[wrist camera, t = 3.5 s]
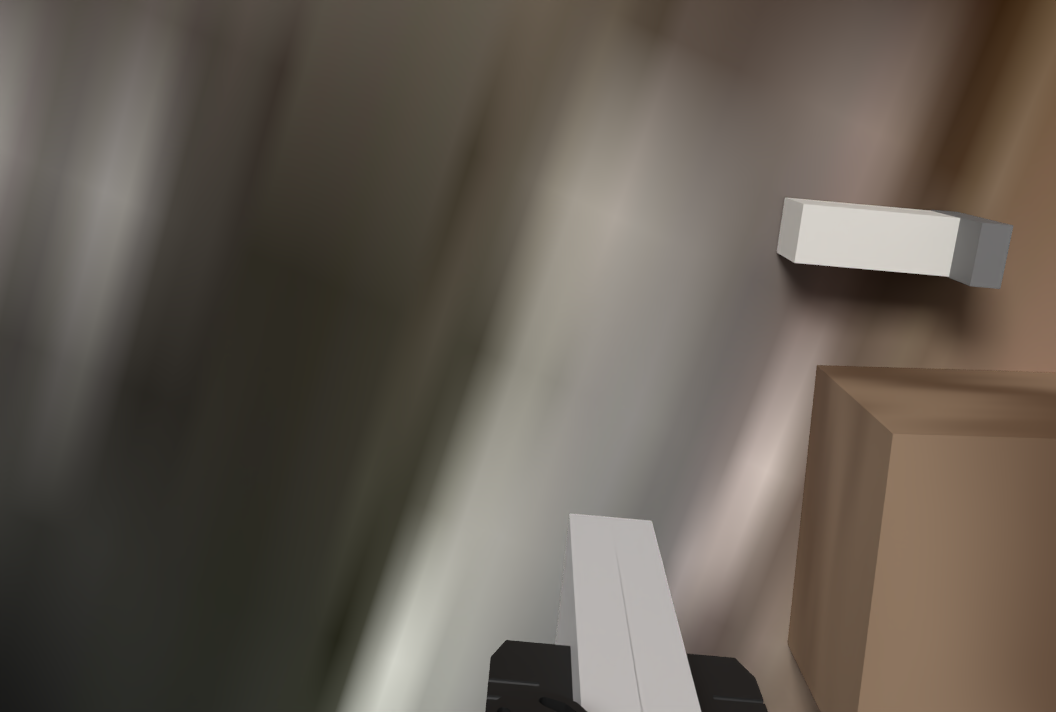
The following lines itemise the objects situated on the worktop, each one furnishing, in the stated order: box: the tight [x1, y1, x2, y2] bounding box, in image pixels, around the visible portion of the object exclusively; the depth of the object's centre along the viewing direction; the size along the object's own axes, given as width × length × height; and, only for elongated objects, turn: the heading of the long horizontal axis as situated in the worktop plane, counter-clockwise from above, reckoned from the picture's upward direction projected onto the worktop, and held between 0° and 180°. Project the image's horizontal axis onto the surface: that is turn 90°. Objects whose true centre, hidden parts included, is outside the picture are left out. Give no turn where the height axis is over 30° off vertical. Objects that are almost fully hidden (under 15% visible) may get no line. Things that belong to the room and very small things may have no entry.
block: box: [788, 365, 1056, 712], centre depth 21 cm, size 7×7×5 cm
